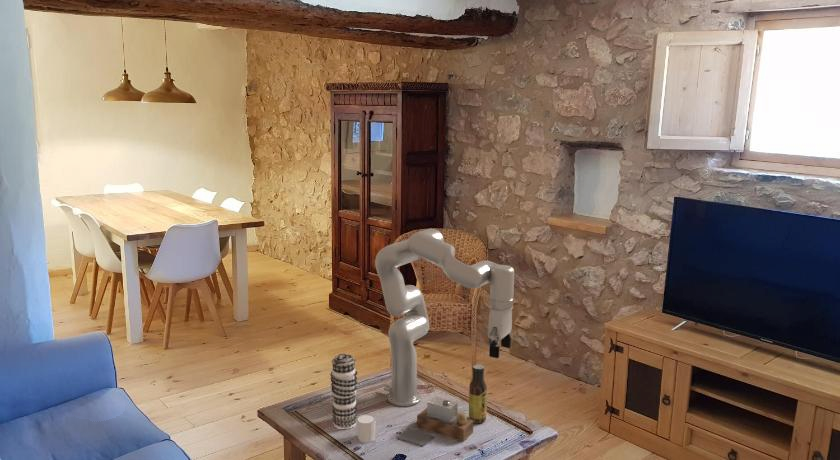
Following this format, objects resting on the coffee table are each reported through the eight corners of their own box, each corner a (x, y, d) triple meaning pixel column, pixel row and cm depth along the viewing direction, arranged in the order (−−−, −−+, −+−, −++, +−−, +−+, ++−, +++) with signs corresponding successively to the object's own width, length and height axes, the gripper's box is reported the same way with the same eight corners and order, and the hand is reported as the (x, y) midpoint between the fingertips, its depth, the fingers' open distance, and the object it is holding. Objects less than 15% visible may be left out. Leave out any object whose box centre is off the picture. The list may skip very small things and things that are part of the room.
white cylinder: (368, 445, 206) (368, 426, 205) (351, 439, 210) (351, 420, 208) (380, 436, 212) (380, 417, 210) (364, 430, 216) (364, 411, 214)
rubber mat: (397, 438, 211) (397, 437, 210) (408, 429, 216) (408, 427, 216) (422, 446, 205) (422, 445, 205) (433, 437, 211) (433, 435, 211)
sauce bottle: (485, 425, 219) (486, 371, 215) (467, 423, 220) (468, 370, 216) (487, 416, 225) (488, 364, 221) (469, 414, 226) (470, 362, 222)
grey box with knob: (427, 415, 216) (427, 400, 214) (434, 409, 220) (434, 394, 219) (450, 422, 211) (450, 407, 210) (457, 416, 215) (457, 401, 214)
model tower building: (344, 414, 227) (342, 349, 221) (363, 421, 221) (362, 355, 216) (326, 425, 219) (324, 357, 214) (346, 433, 214) (344, 364, 209)
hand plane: (417, 427, 217) (417, 407, 216) (427, 418, 223) (427, 399, 222) (463, 441, 208) (463, 420, 207) (473, 432, 214) (473, 412, 213)
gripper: (501, 294, 215) (499, 341, 219) (480, 308, 201) (478, 358, 204) (522, 297, 212) (520, 345, 215) (501, 312, 197) (500, 363, 201)
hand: (500, 352), depth 210 cm, fingers open, 9 cm apart
